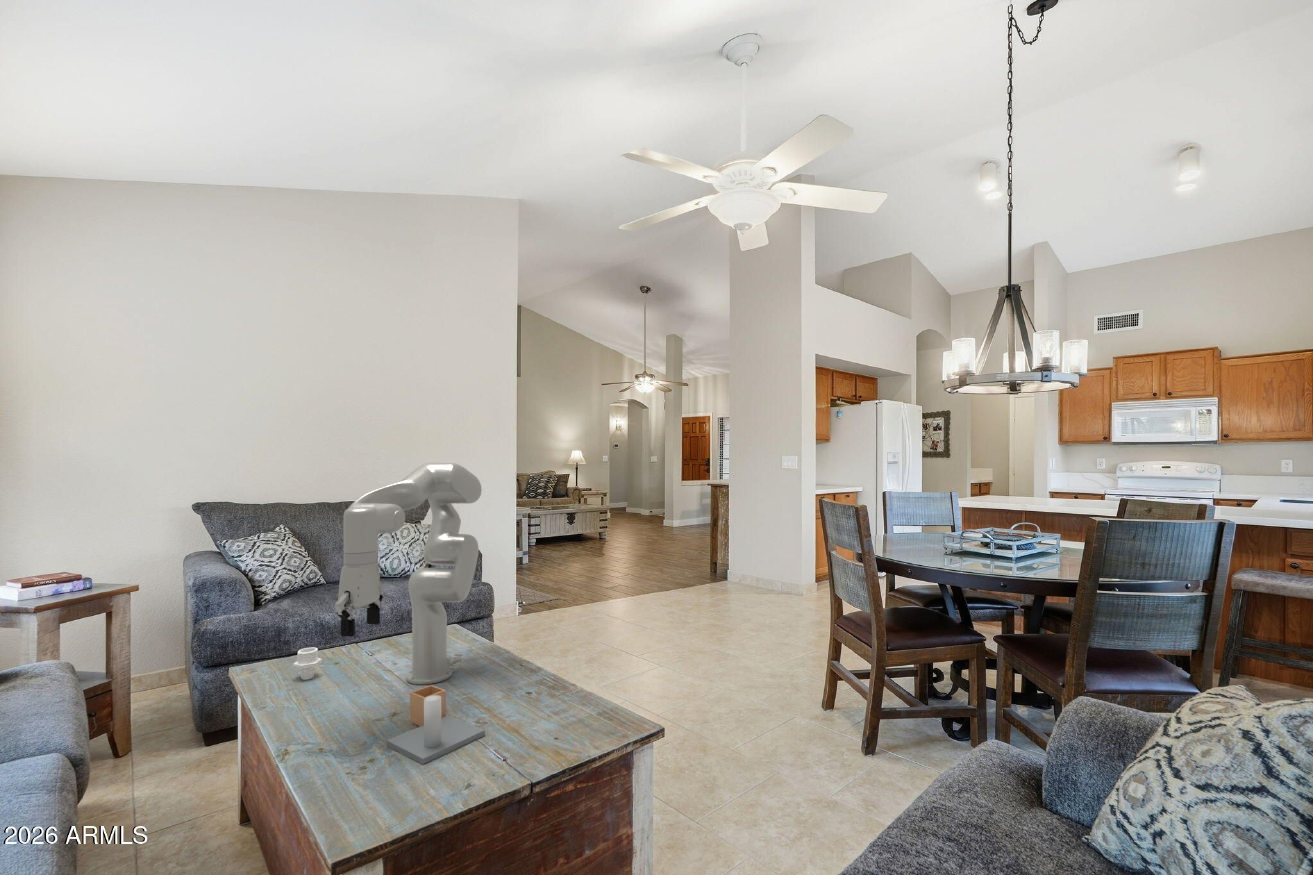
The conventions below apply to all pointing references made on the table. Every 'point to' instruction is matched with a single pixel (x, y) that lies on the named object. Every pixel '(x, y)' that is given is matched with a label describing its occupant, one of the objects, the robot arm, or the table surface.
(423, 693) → the hollow square tube
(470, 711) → the table surface
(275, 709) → the table surface
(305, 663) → the pipe fitting
